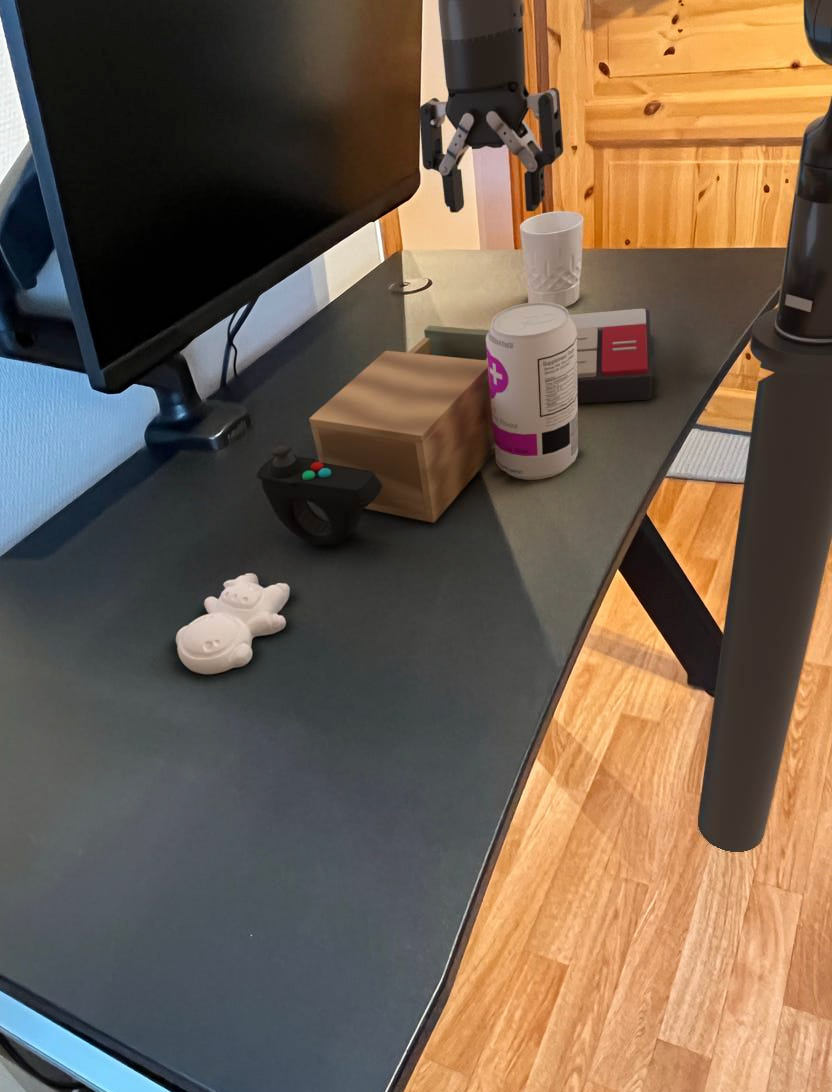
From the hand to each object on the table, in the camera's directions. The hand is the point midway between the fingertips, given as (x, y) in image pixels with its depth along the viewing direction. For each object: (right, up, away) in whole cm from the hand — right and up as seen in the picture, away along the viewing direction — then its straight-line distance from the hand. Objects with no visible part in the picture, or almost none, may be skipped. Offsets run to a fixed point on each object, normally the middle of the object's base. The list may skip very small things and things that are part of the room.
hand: (494, 209), depth 91 cm
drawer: (-3, -20, +6) cm, 21 cm away
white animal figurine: (-25, -44, -13) cm, 52 cm away
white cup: (+12, 0, +26) cm, 29 cm away
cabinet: (-8, -28, 0) cm, 29 cm away
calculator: (+14, -14, +9) cm, 22 cm away
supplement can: (+4, -27, -2) cm, 27 cm away
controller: (-17, -36, -6) cm, 40 cm away
